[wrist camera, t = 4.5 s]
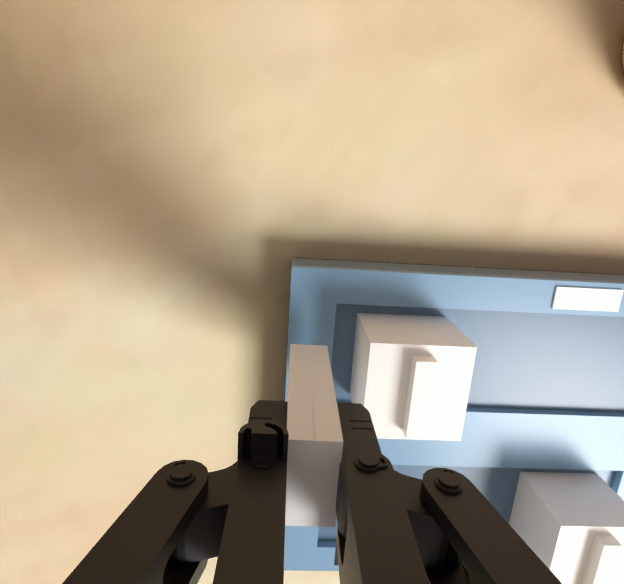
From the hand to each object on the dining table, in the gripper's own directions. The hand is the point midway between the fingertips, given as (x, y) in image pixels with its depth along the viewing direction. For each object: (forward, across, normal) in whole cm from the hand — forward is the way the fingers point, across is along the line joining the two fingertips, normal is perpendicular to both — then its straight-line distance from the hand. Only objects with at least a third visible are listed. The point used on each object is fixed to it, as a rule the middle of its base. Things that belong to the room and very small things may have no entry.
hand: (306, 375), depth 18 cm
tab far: (+2, +13, -8) cm, 15 cm away
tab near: (+2, +4, 0) cm, 5 cm away
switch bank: (+4, +9, -4) cm, 11 cm away
